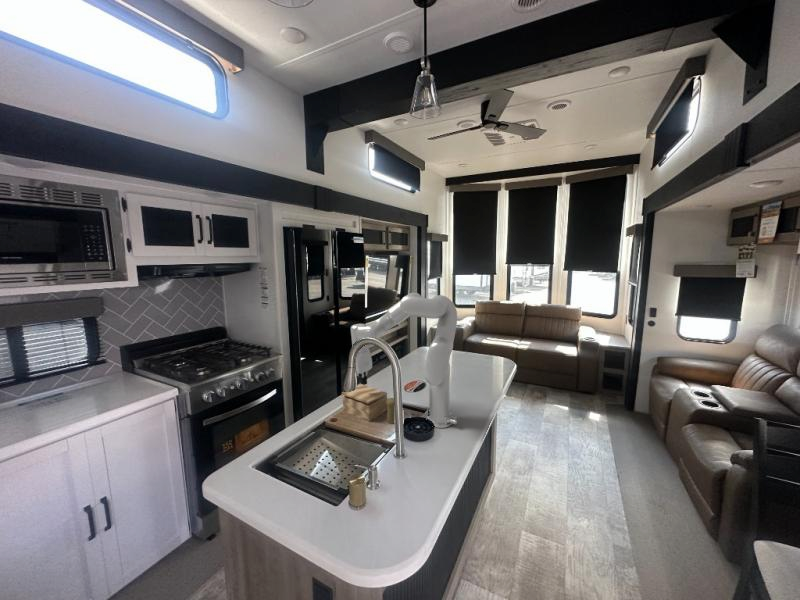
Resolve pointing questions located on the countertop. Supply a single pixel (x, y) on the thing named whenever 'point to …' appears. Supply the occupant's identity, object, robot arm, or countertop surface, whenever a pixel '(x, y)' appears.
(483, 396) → the countertop surface
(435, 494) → the countertop surface
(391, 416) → the tan tapered cylinder
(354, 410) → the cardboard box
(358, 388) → the box lid
